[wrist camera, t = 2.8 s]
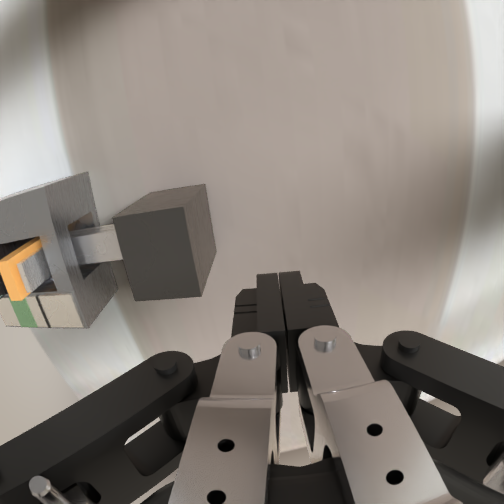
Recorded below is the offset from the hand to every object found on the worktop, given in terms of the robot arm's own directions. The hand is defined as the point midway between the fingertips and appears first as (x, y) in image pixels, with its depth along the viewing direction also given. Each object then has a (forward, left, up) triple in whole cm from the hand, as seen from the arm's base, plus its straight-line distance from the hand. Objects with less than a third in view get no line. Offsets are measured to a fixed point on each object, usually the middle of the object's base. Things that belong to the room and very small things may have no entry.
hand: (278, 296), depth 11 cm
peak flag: (+17, 0, -11) cm, 20 cm away
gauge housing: (+18, 0, -12) cm, 21 cm away
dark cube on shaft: (+10, 0, -11) cm, 15 cm away
